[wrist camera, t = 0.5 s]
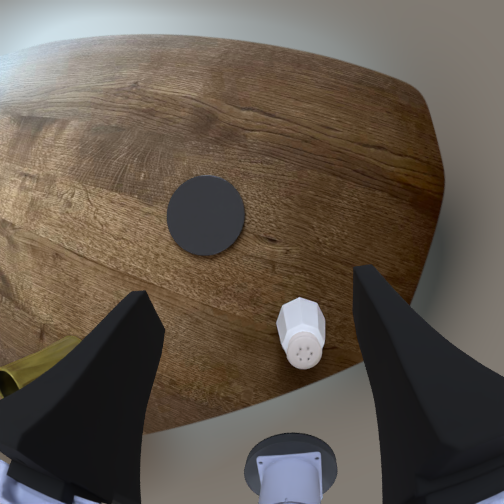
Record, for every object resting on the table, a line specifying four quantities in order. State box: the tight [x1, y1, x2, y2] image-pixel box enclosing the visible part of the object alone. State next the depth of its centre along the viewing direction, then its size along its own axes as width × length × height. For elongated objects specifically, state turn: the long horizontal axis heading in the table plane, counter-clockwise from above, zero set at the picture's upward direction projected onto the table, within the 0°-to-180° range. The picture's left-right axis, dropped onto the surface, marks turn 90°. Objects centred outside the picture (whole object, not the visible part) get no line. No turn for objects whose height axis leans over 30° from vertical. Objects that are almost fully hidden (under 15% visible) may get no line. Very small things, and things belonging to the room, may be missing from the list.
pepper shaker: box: [276, 297, 325, 369], centre depth 30 cm, size 5×5×11 cm
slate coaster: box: [167, 175, 245, 256], centre depth 36 cm, size 9×9×1 cm
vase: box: [0, 336, 82, 399], centre depth 32 cm, size 6×6×14 cm
